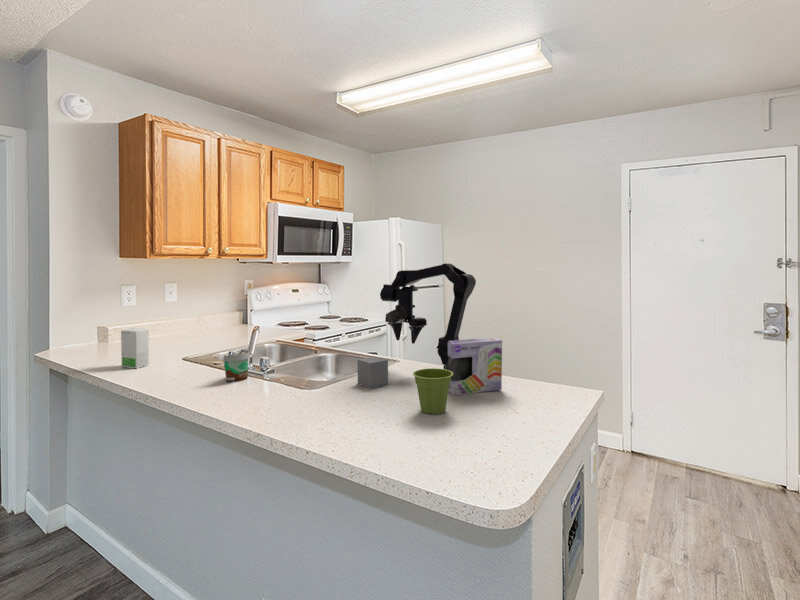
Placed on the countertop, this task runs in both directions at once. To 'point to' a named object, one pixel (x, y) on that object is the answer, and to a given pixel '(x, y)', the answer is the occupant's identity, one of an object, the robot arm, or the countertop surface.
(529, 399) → the countertop surface
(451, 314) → the robot arm
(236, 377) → the food container
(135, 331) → the skincare box
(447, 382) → the plant pot
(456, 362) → the cake pan box
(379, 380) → the matte gray foam cube
